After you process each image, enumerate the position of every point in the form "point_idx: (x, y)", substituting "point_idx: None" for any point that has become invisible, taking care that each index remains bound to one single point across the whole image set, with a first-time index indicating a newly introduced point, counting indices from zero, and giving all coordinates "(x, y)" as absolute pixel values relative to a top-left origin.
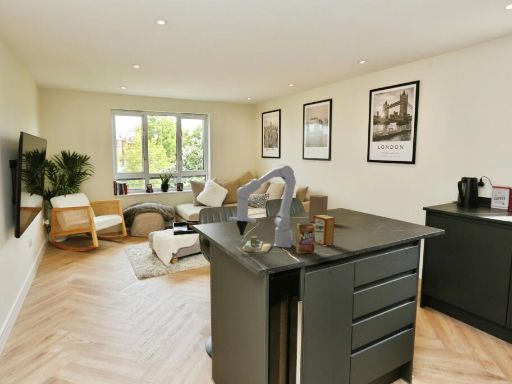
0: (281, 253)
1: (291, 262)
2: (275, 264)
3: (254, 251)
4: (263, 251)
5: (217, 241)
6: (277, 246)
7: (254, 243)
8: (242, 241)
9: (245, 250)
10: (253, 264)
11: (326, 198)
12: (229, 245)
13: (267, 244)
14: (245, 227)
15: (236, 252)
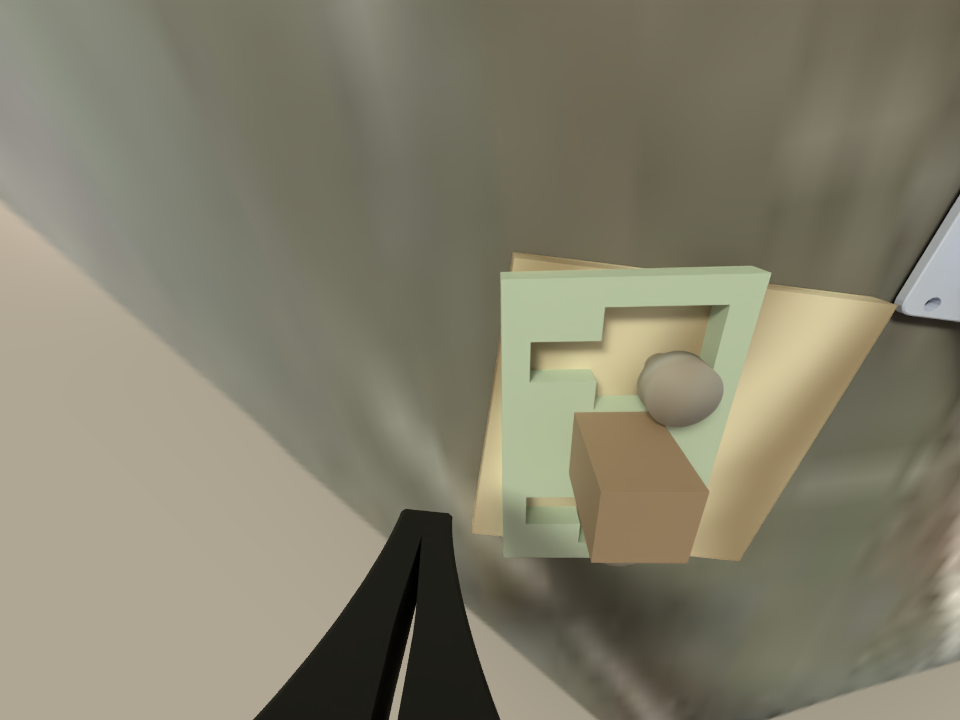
0: (884, 528)
1: (877, 671)
2: (745, 701)
3: None
4: (703, 553)
5: (6, 206)
6: (952, 319)
7: None
8: (384, 101)
9: None
10: (599, 710)
11: None
12: (280, 370)
13: (817, 323)
14: (478, 678)
15: None
